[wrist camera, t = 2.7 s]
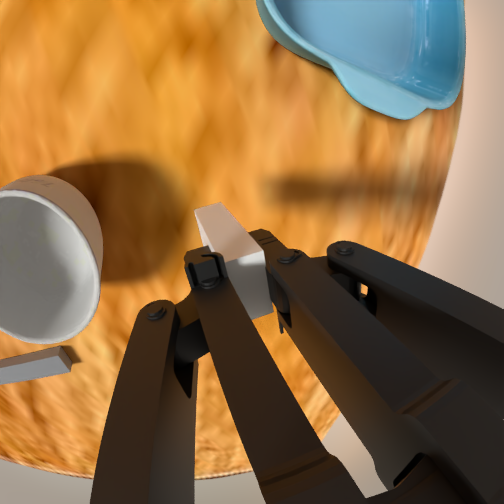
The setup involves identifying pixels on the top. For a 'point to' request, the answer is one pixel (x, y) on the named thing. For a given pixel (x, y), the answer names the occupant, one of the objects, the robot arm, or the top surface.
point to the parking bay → (34, 365)
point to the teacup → (47, 260)
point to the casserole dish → (379, 47)
